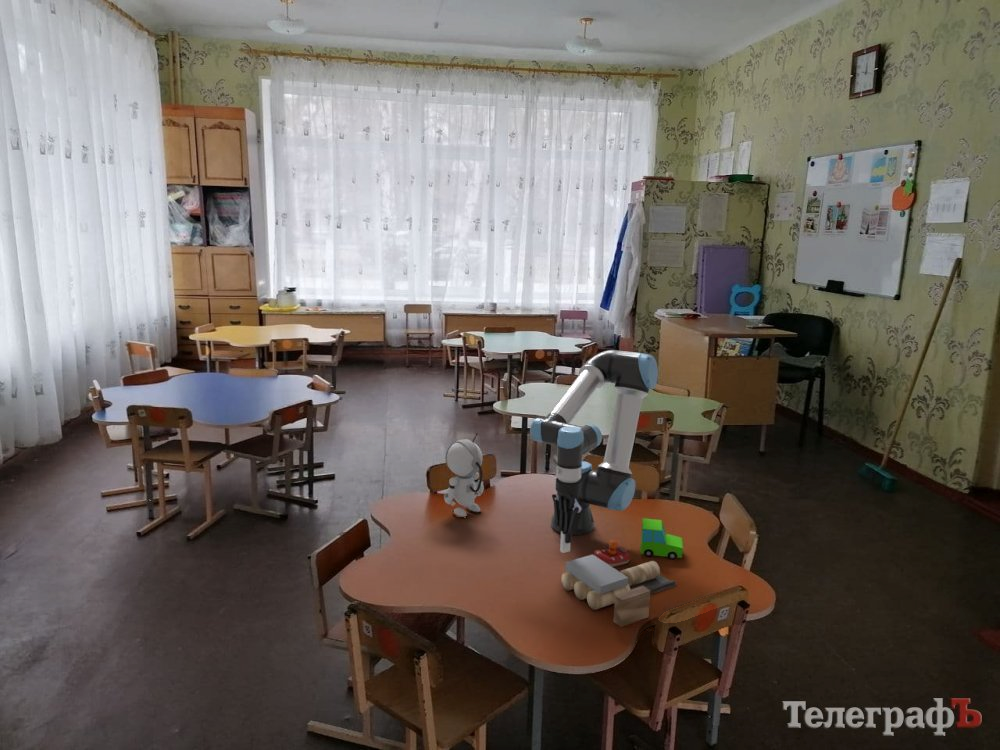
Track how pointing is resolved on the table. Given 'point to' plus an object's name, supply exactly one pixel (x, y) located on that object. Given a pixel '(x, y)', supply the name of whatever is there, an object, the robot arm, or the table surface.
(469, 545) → the table surface
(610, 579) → the slab
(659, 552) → the toy car
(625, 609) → the track
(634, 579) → the roller
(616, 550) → the toy boat
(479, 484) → the robot
